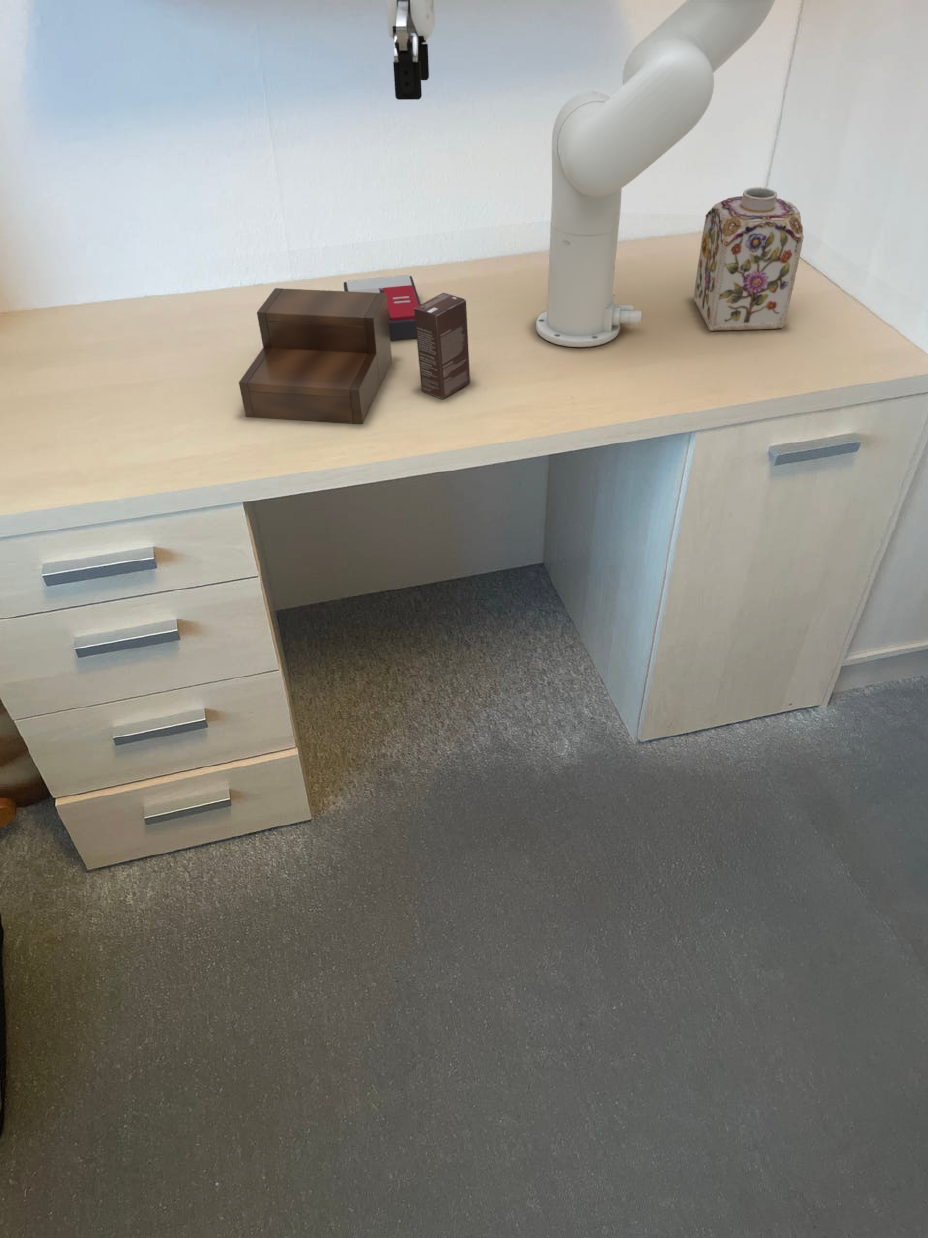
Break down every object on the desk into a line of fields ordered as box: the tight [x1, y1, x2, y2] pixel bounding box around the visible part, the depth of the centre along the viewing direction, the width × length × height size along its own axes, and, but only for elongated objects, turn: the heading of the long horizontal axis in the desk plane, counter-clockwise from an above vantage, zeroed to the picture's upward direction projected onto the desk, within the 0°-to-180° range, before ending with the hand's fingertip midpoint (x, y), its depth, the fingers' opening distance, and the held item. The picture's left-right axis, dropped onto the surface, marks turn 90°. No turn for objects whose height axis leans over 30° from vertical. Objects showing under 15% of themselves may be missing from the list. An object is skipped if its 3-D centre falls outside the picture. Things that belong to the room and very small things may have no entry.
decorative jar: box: [693, 186, 805, 332], centre depth 134 cm, size 12×12×18 cm
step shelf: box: [238, 287, 393, 425], centre depth 123 cm, size 16×18×10 cm
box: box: [414, 292, 471, 400], centre depth 121 cm, size 6×4×12 cm
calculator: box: [343, 274, 422, 342], centre depth 140 cm, size 11×4×15 cm
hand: (412, 88), depth 115 cm, fingers open, 9 cm apart
